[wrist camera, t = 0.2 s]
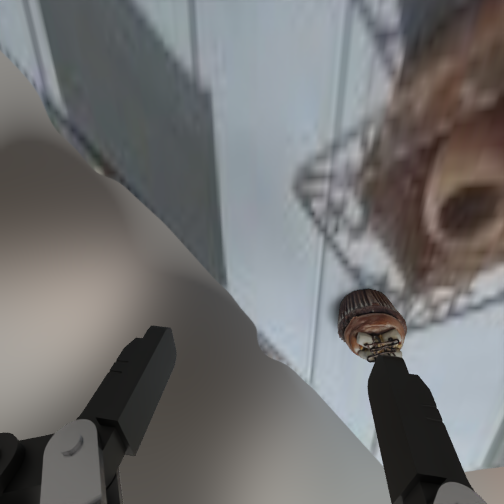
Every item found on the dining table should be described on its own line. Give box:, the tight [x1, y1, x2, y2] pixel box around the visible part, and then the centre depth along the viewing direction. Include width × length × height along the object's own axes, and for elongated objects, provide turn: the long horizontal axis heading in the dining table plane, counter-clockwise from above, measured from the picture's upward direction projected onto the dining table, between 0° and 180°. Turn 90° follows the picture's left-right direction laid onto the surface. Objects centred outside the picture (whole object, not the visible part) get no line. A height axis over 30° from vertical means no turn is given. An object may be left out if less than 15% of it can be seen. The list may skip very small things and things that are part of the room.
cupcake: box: [338, 289, 407, 362], centre depth 41 cm, size 10×10×10 cm
